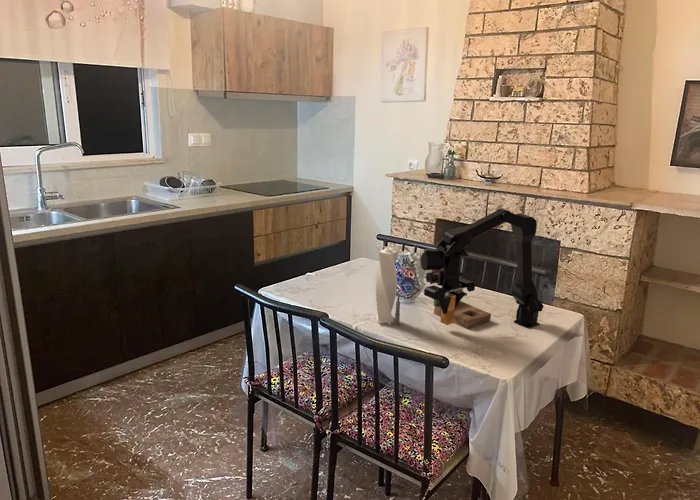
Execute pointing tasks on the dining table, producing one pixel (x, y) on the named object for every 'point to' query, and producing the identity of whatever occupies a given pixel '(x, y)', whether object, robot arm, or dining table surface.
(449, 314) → the peg
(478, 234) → the robot arm
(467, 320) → the socket board
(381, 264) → the skyscraper
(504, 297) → the dining table surface
